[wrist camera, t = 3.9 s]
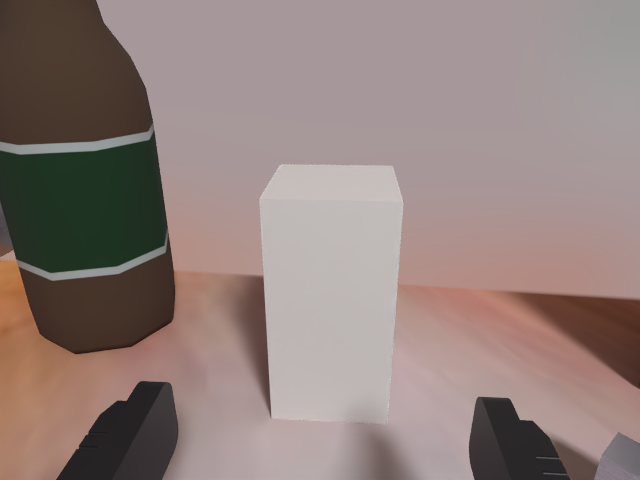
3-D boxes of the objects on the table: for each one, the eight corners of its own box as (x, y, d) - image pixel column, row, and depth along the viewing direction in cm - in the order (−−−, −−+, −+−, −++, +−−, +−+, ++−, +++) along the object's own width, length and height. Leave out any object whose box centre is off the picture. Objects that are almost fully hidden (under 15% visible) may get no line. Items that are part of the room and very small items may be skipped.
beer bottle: (142, 364, 24) (23, -278, 14) (4, 350, 25) (-190, -255, 15) (201, 290, 31) (148, -171, 21) (92, 282, 32) (-4, -160, 22)
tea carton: (271, 418, 20) (259, 198, 16) (287, 346, 25) (281, 163, 21) (387, 424, 20) (403, 201, 16) (381, 350, 25) (392, 164, 21)
